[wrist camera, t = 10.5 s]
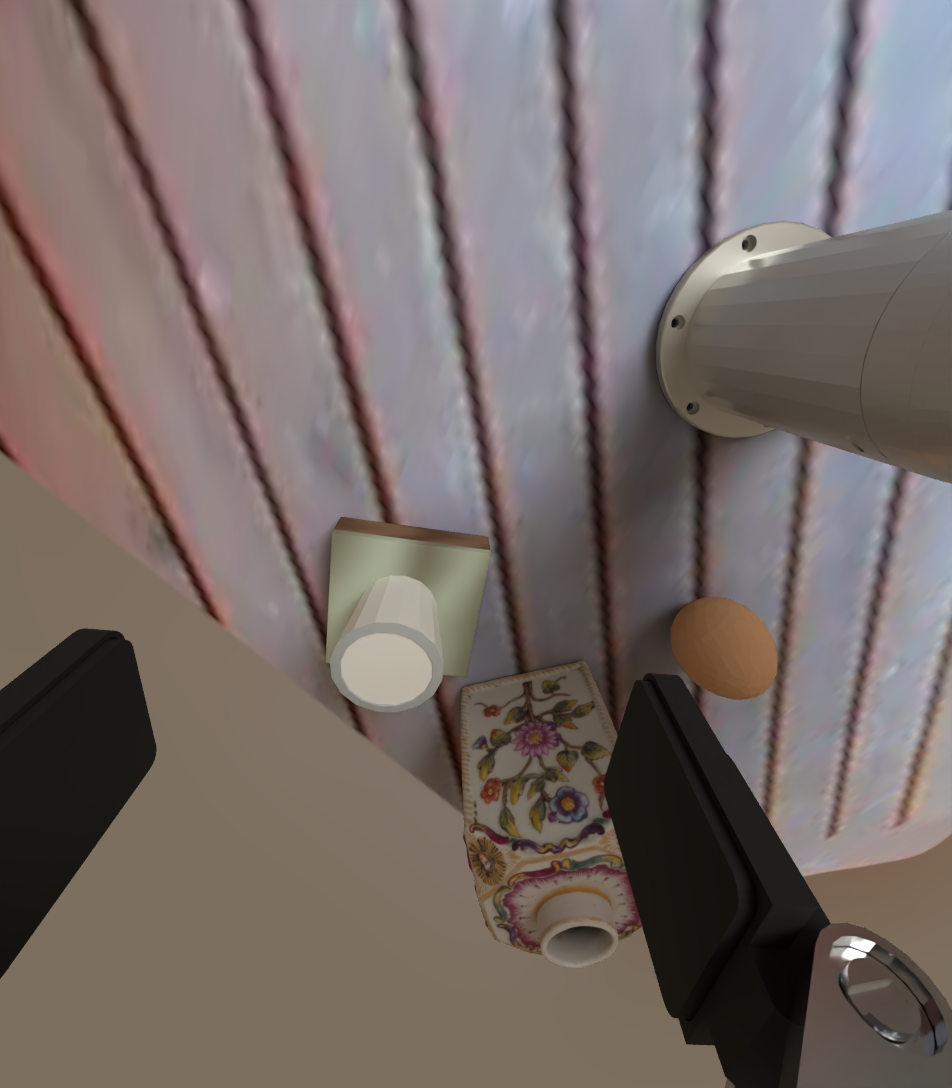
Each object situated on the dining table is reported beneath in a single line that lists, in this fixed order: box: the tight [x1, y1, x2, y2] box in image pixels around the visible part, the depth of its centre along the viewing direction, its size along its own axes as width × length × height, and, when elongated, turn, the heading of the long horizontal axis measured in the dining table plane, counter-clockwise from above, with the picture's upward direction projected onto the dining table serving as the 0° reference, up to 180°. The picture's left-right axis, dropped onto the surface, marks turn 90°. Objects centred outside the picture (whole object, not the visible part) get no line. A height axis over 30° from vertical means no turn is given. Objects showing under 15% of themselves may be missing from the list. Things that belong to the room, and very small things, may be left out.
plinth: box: [326, 517, 491, 677], centre depth 37 cm, size 11×11×3 cm
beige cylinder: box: [330, 575, 443, 712], centre depth 32 cm, size 7×7×7 cm
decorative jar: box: [460, 660, 642, 968], centre depth 36 cm, size 12×12×18 cm
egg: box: [670, 597, 777, 700], centre depth 36 cm, size 7×7×9 cm
